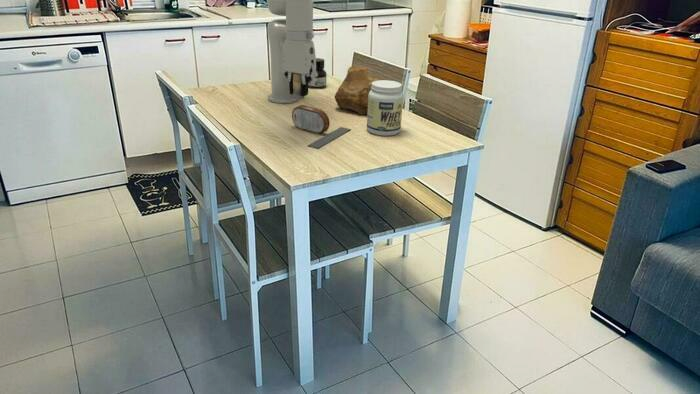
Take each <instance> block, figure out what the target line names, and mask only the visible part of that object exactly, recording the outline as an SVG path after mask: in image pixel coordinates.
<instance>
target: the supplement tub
mask: <svg viewBox="0 0 700 394" xmlns="http://www.w3.org/2000/svg"><path fill="white" fill-rule="evenodd" d="M402 87H403V86H402V83H401V82H398V81H395V80H387V79H386V80H385V79H384V80H383V79H382V80H379V81H374V82H372V86H371V89H372V90H371V91H370V92H369V95H368V113H367V114H366V116H367V117H366V130H367V131H368V132H369V133H371V134H373V135H376V136H384V137H386V136H387V137H388V136H394V135H397V134H399V132H401V130H402V118H403V117H402V114H403V107H404V106H403V104H404V94H403V92H402V90H403V88H402Z"/></svg>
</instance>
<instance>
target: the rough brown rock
mask: <svg viewBox="0 0 700 394" xmlns="http://www.w3.org/2000/svg"><path fill="white" fill-rule="evenodd" d="M379 80H381V78H380V77H375V78H373V76H371V75H370V74H369V71H368V69H367V68H366V67H362V66H359V67H356V66H350V67H349V68H348V69H347V72H346V76H345V78H344V79H343V81H342V83H341V84H340V85H339V87H338V89H337V91H336V92H335V94H334V99H335V102H336V103H337V106H338V108H340V109H344V110H346V109H349V110H352V111H354V112H356V113H358V114H360V115H363V116H367V113H368V95H369V92H370V91H371V90H372V89H371V86H372V82H374V81H379Z"/></svg>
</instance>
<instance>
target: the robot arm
mask: <svg viewBox="0 0 700 394" xmlns="http://www.w3.org/2000/svg"><path fill="white" fill-rule="evenodd" d="M266 5H267V8H268V10H269V12H270V13H271V14H273V15H275V16H278V17H279V16H280V17H285V18H280V19H279V18H278V19H274V20H271V21H270V22H269V23H268V24H267V37H268V42H269V50H270V51H269V53H270V76H271V79H270V80H271V82H270V84H271V86H270V87H271V94H269V95H268V97H267V100H268V101H269V102H271V103H275V104H293V103H297V102H298V101H299V100H300V99H294V98H293V73H297V74H301V76H302V84H301V96H302V97H304V98H305V97H306V96H308V95H309V87H308V83H310V81H311V80H312V79H313V78H315V77H317V76H318V74H317V72H316V58H317V57H316V49H315V44H314V40H313V39H314V37H315V35H314V31H313V30H314V0H266ZM309 72H310V73H311V75H309Z"/></svg>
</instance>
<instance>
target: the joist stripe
mask: <svg viewBox="0 0 700 394" xmlns="http://www.w3.org/2000/svg"><path fill="white" fill-rule="evenodd" d="M351 130H352V129H351V128H347V127H343V126H342V127H341V126H340V127H338V128H337V129H335V130H333V131H331V132H329V133H327V134H326V135H324V136H322V137H320V138H318V139H317V140H314V141H313V142H311V143H309V144H308V145H307V147H309V148H311V149H317V150H319V149H321V148H322V147H324V146H325V145H328V144H329V143H331V142H333V141H335V140H336V139H337V138H339V137H342V136H344V135H345V134H347V133H348V132H350V131H351Z"/></svg>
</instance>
